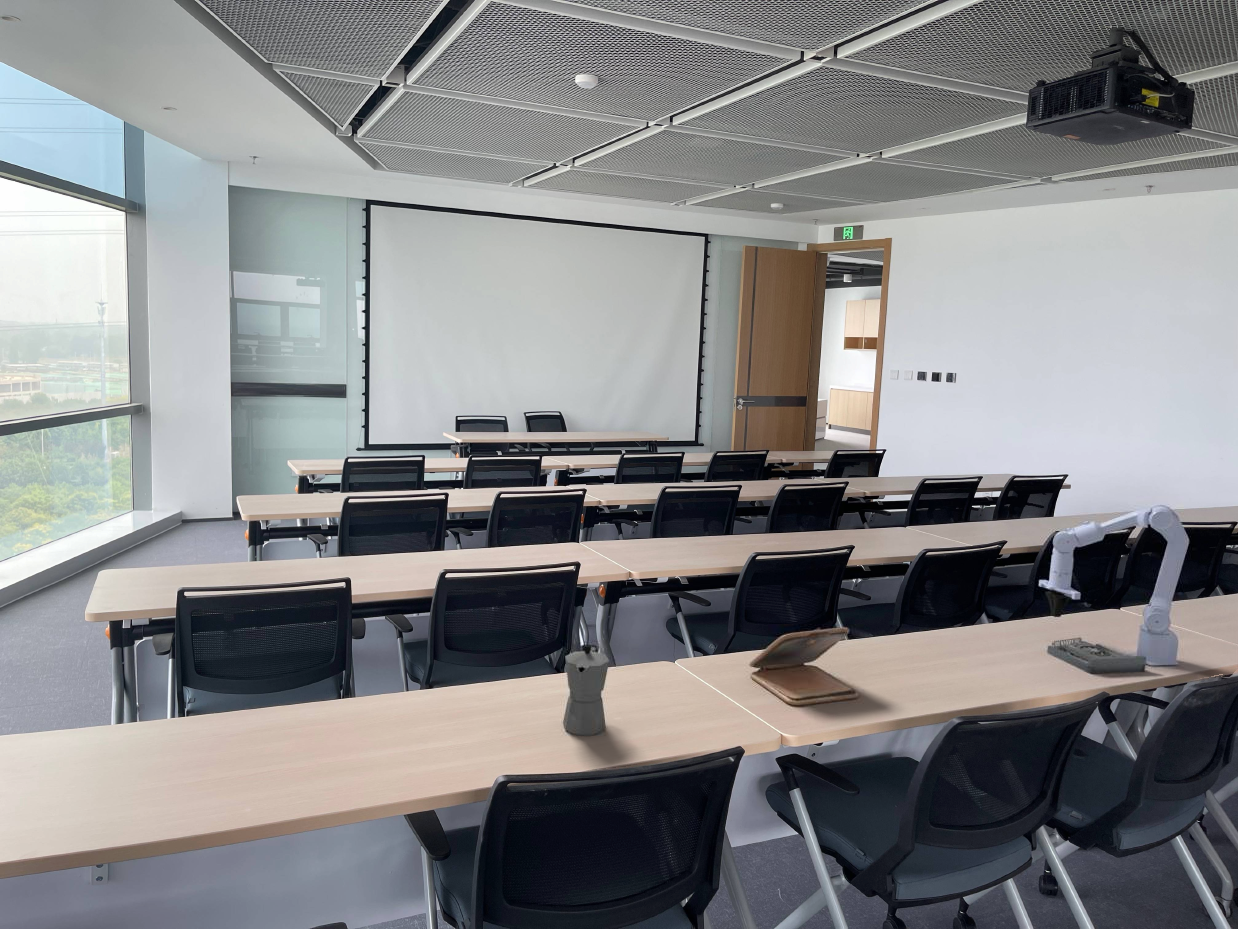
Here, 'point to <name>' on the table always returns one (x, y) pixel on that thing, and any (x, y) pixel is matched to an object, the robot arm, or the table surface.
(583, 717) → the coffeepot
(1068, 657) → the mounting bracket
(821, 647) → the case
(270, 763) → the table surface
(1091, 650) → the graphics card
